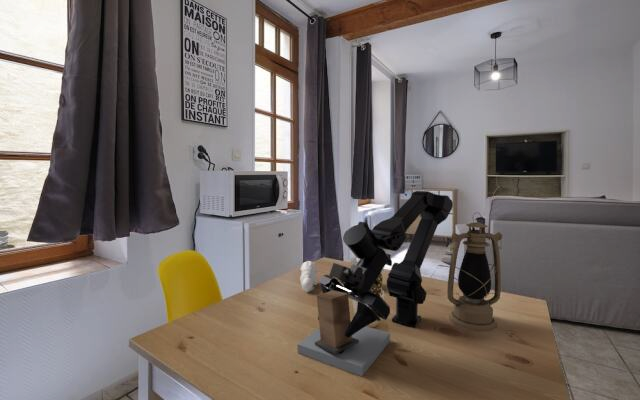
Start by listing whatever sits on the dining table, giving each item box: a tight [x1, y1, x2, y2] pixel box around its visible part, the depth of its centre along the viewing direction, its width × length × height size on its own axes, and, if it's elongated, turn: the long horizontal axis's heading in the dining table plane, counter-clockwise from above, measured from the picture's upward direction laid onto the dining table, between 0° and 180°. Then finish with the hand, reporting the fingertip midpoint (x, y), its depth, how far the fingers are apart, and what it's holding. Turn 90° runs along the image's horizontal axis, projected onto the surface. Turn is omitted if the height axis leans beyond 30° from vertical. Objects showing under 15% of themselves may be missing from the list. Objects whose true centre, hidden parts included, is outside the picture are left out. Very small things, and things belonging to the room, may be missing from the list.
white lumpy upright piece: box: [299, 260, 319, 293], centre depth 113 cm, size 6×8×12 cm
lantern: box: [446, 212, 503, 332], centre depth 87 cm, size 14×12×30 cm
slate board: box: [296, 326, 391, 377], centre depth 75 cm, size 16×16×2 cm
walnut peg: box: [315, 290, 359, 354], centre depth 72 cm, size 7×7×13 cm
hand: (331, 328), depth 70 cm, fingers open, 9 cm apart
